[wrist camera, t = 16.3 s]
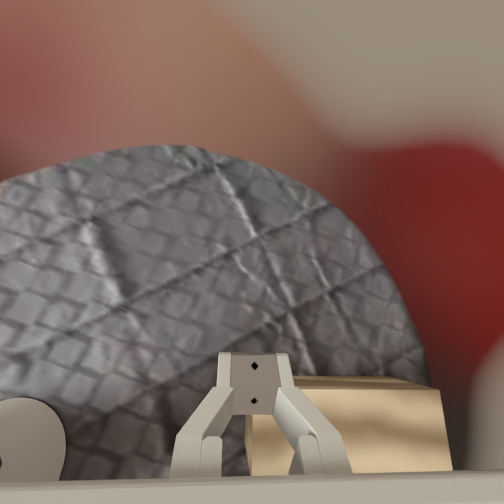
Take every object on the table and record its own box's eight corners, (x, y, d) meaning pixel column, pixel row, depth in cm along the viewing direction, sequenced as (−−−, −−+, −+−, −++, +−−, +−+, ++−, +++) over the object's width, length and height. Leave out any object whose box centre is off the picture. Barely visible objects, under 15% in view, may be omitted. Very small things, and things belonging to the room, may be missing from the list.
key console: (398, 441, 40) (453, 476, 30) (244, 443, 38) (251, 482, 28) (390, 376, 42) (439, 389, 33) (246, 375, 40) (253, 389, 31)
